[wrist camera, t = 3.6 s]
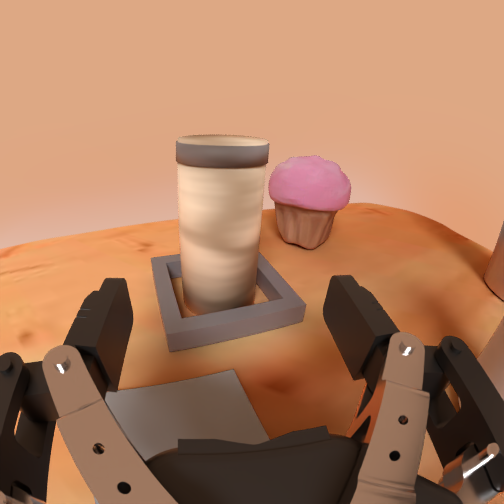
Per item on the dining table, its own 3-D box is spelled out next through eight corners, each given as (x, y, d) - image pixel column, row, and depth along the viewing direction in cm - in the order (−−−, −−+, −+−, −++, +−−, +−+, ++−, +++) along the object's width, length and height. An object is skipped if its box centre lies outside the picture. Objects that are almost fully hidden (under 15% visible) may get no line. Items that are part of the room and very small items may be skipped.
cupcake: (345, 239, 34) (360, 160, 29) (328, 269, 27) (348, 168, 22) (281, 221, 37) (289, 147, 32) (249, 245, 30) (256, 152, 26)
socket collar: (251, 259, 28) (252, 244, 27) (302, 321, 20) (306, 304, 19) (152, 273, 24) (150, 257, 23) (169, 351, 16) (166, 334, 15)
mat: (233, 372, 15) (233, 369, 15) (306, 505, 8) (308, 504, 8) (85, 397, 12) (83, 393, 12) (110, 546, 5) (107, 546, 5)
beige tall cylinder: (240, 272, 25) (248, 135, 20) (267, 311, 21) (286, 144, 15) (176, 282, 23) (171, 135, 18) (191, 327, 18) (184, 143, 13)
